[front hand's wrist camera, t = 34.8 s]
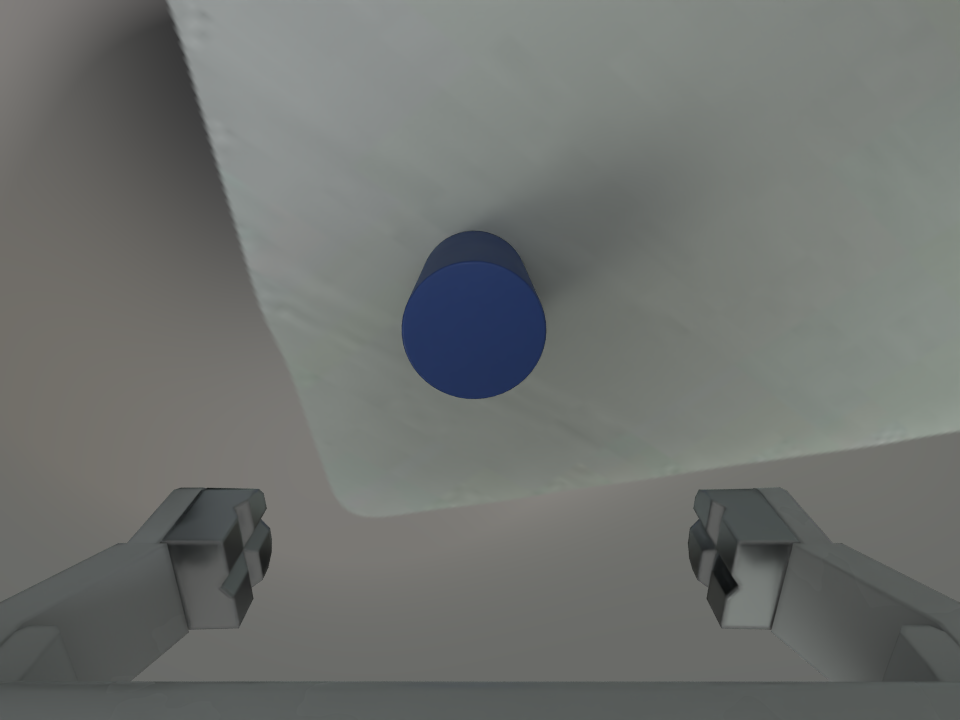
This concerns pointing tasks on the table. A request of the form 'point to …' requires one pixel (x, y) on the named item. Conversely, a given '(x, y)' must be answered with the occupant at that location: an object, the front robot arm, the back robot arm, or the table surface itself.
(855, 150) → the table surface
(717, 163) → the table surface
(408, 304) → the can
